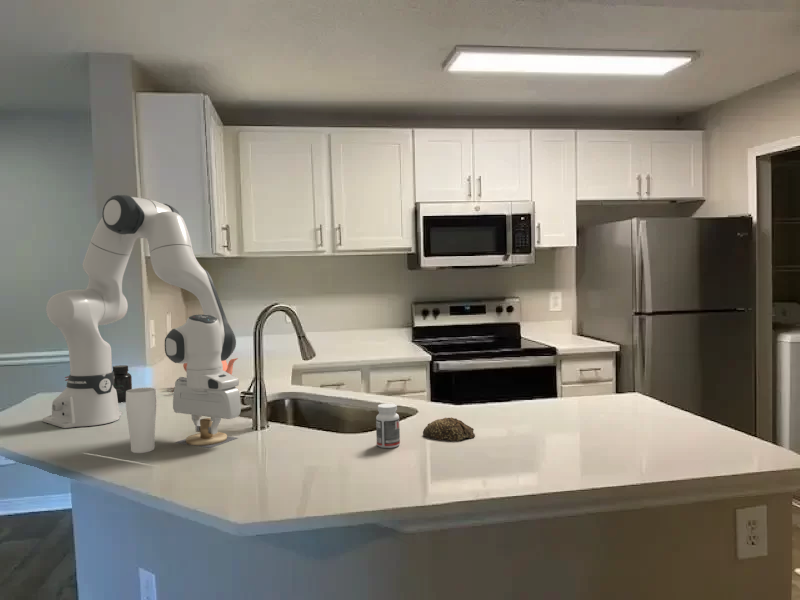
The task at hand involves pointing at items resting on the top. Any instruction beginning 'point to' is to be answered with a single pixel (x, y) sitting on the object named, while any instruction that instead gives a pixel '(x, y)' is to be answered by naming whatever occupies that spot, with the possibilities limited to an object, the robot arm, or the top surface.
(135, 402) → the drinking glass
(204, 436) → the lid
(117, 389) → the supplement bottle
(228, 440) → the mat
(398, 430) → the pill bottle
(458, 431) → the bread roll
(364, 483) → the top surface
